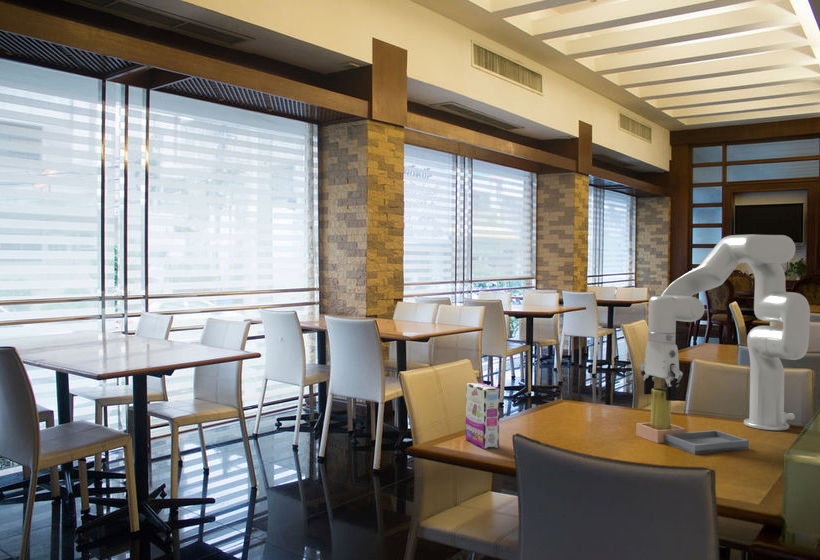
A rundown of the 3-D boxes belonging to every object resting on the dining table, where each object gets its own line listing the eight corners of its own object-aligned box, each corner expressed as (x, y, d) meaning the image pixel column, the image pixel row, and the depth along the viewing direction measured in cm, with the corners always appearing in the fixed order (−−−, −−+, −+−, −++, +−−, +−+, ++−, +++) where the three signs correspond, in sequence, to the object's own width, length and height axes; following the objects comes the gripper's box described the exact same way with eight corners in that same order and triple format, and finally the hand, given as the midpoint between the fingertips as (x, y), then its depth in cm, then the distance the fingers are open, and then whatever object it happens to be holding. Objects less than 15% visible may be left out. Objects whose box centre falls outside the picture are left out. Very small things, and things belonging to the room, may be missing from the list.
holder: (663, 432, 200) (663, 421, 200) (685, 440, 191) (685, 428, 191) (636, 435, 197) (636, 423, 197) (657, 443, 188) (657, 431, 188)
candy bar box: (500, 448, 182) (500, 388, 181) (484, 449, 180) (484, 389, 179) (480, 438, 192) (480, 381, 192) (464, 439, 190) (465, 382, 190)
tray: (715, 438, 193) (716, 430, 193) (748, 449, 182) (748, 440, 182) (664, 443, 188) (664, 434, 188) (694, 454, 177) (694, 445, 176)
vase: (673, 441, 190) (674, 391, 190) (651, 440, 191) (651, 390, 191) (669, 436, 196) (670, 387, 196) (647, 434, 197) (648, 387, 197)
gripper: (693, 341, 186) (691, 402, 186) (652, 335, 203) (650, 391, 203) (671, 341, 184) (669, 403, 184) (631, 335, 200) (630, 392, 200)
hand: (659, 397), depth 193 cm, fingers open, 9 cm apart
